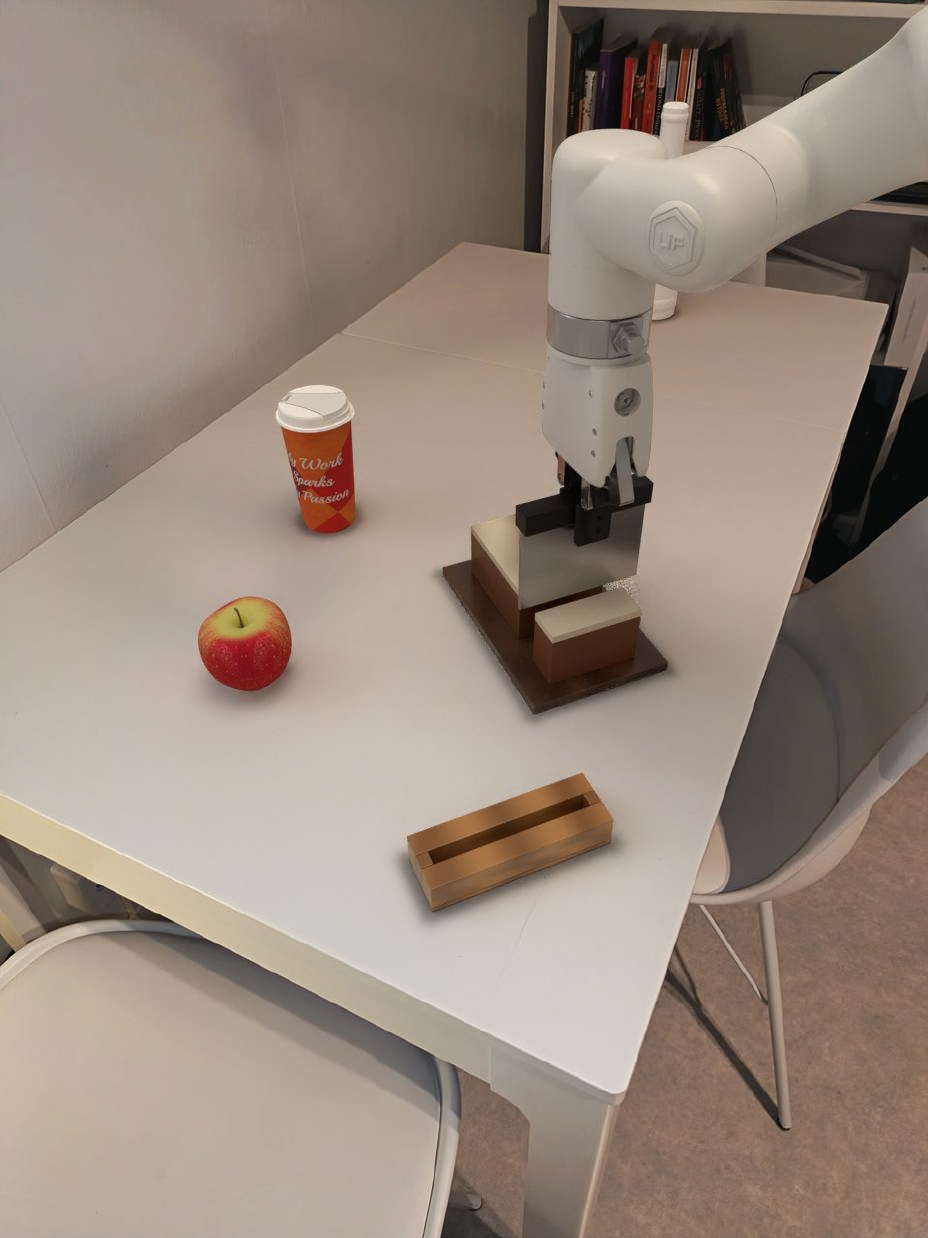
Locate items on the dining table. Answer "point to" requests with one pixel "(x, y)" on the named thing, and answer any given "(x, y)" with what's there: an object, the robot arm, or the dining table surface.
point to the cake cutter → (575, 546)
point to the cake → (529, 620)
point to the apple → (246, 643)
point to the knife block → (508, 840)
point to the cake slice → (586, 635)
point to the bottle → (673, 140)
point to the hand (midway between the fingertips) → (583, 531)
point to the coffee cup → (320, 454)
